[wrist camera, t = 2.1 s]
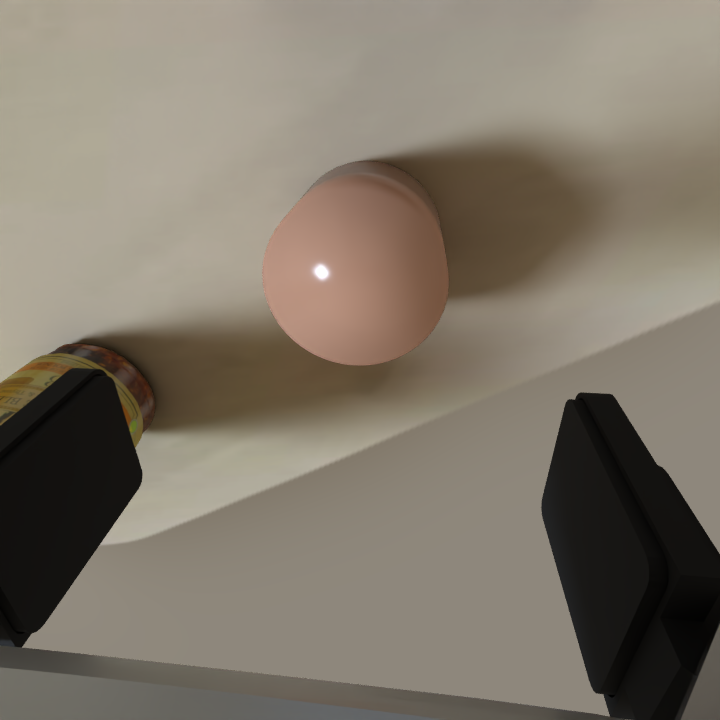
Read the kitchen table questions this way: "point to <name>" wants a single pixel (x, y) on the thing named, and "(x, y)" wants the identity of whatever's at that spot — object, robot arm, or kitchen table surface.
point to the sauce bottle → (48, 368)
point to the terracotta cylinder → (358, 266)
